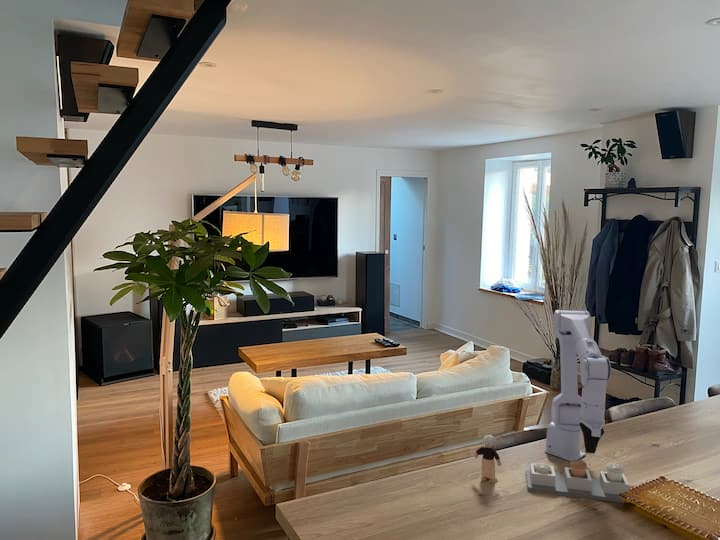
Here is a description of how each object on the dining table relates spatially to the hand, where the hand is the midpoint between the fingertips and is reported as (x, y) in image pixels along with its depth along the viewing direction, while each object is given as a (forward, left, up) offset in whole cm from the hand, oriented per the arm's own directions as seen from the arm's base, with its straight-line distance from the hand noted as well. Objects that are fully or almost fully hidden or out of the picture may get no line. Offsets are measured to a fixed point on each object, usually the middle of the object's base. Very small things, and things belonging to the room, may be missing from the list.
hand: (590, 452), depth 143 cm
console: (-2, -1, -10) cm, 11 cm away
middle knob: (-2, -1, -7) cm, 7 cm away
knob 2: (+5, +4, -7) cm, 9 cm away
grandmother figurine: (-21, -15, -11) cm, 28 cm away
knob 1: (-10, -6, -9) cm, 15 cm away
